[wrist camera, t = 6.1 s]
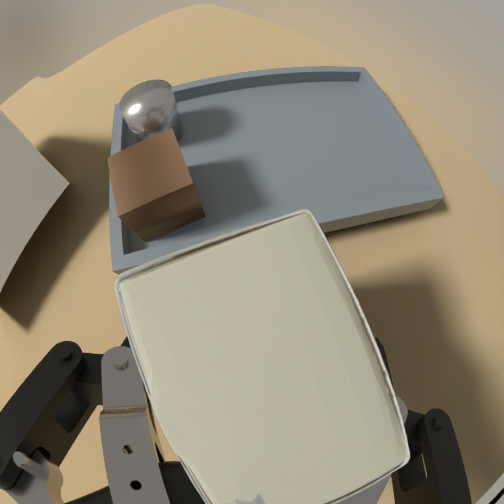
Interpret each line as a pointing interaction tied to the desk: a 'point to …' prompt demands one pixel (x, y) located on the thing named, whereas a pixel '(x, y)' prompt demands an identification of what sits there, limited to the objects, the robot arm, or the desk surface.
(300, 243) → the skincare box
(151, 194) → the walnut block
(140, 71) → the desk surface
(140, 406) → the robot arm
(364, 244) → the desk surface
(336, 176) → the blue-grey serving tray
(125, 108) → the chrome dome knob
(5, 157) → the slotted wedge
